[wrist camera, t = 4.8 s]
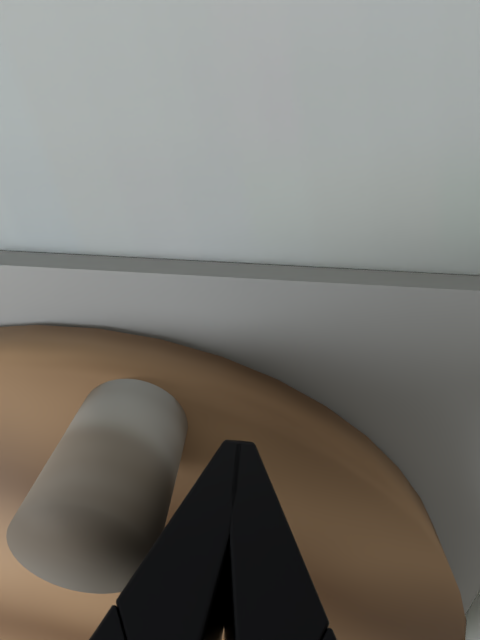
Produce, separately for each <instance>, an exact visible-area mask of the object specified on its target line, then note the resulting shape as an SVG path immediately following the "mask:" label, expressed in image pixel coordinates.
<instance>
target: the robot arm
mask: <svg viewBox="0 0 480 640" xmlns="http://www.w3.org/2000/svg"><path fill="white" fill-rule="evenodd" d="M328 627H329V620H328V618H327V615H326V613H325V610H324V608H323V606H322V603H321V601H320V598H319V596H318V594H317V591H316V589H315V586H314V584H313V582H312V579H311V577H310V574H309V572H308V570H307V567H306V565H305V562H304V560H303V558H302V555H301V553H300V550H299V548H298V546H297V543H296V541H295V538H294V536H293V533H292V531H291V529H290V526H289V524H288V521H287V519H286V517H285V514H284V512H283V509H282V507H281V505H280V502H279V500H278V497H277V495H276V493H275V490H274V488H273V485H272V483H271V481H270V478H269V476H268V473H267V471H266V469H265V466H264V464H263V461H262V459H261V456H260V454H259V452H258V449H257V447H256V445H255V443H254V442H251V441H240V440H228V439H227V440H224V441H223V442H222V444H221V445H220V447H219V448H218V450H217V451H216V453H215V454H214V456H213V457H212V458H211V460H210V461H209V463H208V464H207V466H206V467H205V469H204V470H203V472H202V473H201V475H200V476H199V478H198V479H197V481H196V482H195V484H194V485H193V487H192V488H191V490H190V491H189V493H188V494H187V496H186V497H185V498H184V500H183V501H182V503H181V504H180V506H179V507H178V509H177V510H176V512H175V513H174V515H173V516H172V518H171V519H170V521H169V522H168V524H167V525H166V527H165V528H164V530H163V531H162V533H161V534H160V536H159V537H158V539H157V540H156V541H155V543H154V544H153V546H152V547H151V549H150V550H149V552H148V553H147V555H146V556H145V558H144V559H143V561H142V562H141V564H140V565H139V567H138V568H137V570H136V571H135V573H134V574H133V576H132V577H131V579H130V580H129V581H128V583H127V584H126V586H125V587H124V589H123V590H122V592H121V593H120V595H119V596H118V598H117V599H116V605H112V606H111V608H110V609H109V611H108V612H107V614H106V615H105V617H104V618H103V620H102V621H101V623H100V624H99V625H98V627H97V628H96V630H95V631H94V633H93V634H92V636H91V637H90V638H89V640H222V635H223V630H224V640H337V639H336V636H335V634H334V631H333V629H332V628H328Z"/></svg>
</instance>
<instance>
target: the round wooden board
mask: <svg viewBox="0 0 480 640" xmlns="http://www.w3.org/2000/svg"><path fill="white" fill-rule="evenodd" d="M227 439H228V440H240V441H251V442H254V443H255V445H256V447H257V449H258V452H259V454H260V456H261V459H262V461H263V464H264V466H265V469H266V471H267V473H268V476H269V478H270V481H271V483H272V485H273V488H274V490H275V493H276V495H277V497H278V500H279V502H280V505H281V507H282V509H283V512H284V514H285V517H286V519H287V521H288V524H289V526H290V529H291V531H292V533H293V536H294V538H295V541H296V543H297V546H298V548H299V550H300V553H301V555H302V558H303V560H304V562H305V565H306V567H307V570H308V572H309V574H310V577H311V579H312V582H313V584H314V586H315V589H316V591H317V594H318V596H319V598H320V601H321V603H322V606H323V608H324V610H325V613H326V615H327V618H328V620H329V627H328V628H332V629H333V631H334V634H335V636H336V639H337V640H465V631H466V618H465V613H464V608H463V603H462V598H461V593H460V590H459V588H458V585H457V583H456V580H455V578H454V575H453V573H452V570H451V568H450V565H449V563H448V560H447V558H446V555H445V553H444V550H443V548H442V545H441V543H440V540H439V538H438V535H437V533H436V530H435V528H434V526H433V524H432V522H431V519H430V517H429V515H428V513H427V511H426V509H425V507H424V504H423V502H422V500H421V498H420V497H419V495H418V494H417V492H416V491H415V490H414V488H413V487H412V486H411V484H410V483H409V481H408V480H407V479H406V477H405V476H404V475H403V473H402V472H401V470H400V469H399V468H398V466H397V465H395V464H394V463H393V462H392V461H391V460H390V459H389V458H388V457H387V456H386V455H385V454H384V453H383V452H382V451H381V450H380V449H379V448H378V447H377V446H376V445H375V444H374V443H373V442H372V441H371V440H370V439H369V438H368V437H367V436H366V435H364V434H363V433H362V432H360V431H359V430H358V429H356V428H355V427H354V426H352V425H351V424H349V423H348V422H347V421H345V420H344V419H343V418H341V417H340V416H339V415H337V414H336V413H334V412H333V411H332V410H330V409H329V408H328V407H326V406H325V405H323V404H321V403H319V402H317V401H316V400H314V399H312V398H310V397H308V396H306V395H305V394H303V393H301V392H299V391H297V390H296V389H294V388H292V387H290V386H288V385H287V384H285V383H283V382H281V381H279V380H278V379H275V378H273V377H270V376H268V375H265V374H263V373H261V372H258V371H256V370H253V369H251V368H248V367H246V366H243V365H241V364H239V363H236V362H234V361H231V360H229V359H226V358H224V357H221V356H218V355H214V354H211V353H207V352H204V351H200V350H197V349H193V348H190V347H186V346H183V345H179V344H176V343H172V342H169V341H165V340H162V339H157V338H151V337H145V336H139V335H133V334H128V333H122V332H116V331H110V330H104V329H98V328H82V327H65V326H48V325H24V326H7V327H0V640H89V638H90V637H91V636H92V634H93V633H94V631H95V630H96V628H97V627H98V625H99V624H100V623H101V621H102V620H103V618H104V617H105V615H106V614H107V612H108V611H109V609H110V608H111V606H112V605H116V599H117V598H118V596H119V595H120V593H121V592H122V590H123V589H124V587H125V586H126V584H127V583H128V581H129V580H130V579H131V577H132V576H133V574H134V573H135V571H136V570H137V568H138V567H139V565H140V564H141V562H142V561H143V559H144V558H145V556H146V555H147V553H148V552H149V550H150V549H151V547H152V546H153V544H154V543H155V541H156V540H157V539H158V537H159V536H160V534H161V533H162V531H163V530H164V528H165V527H166V525H167V524H168V522H169V521H170V519H171V518H172V516H173V515H174V513H175V512H176V510H177V509H178V507H179V506H180V504H181V503H182V501H183V500H184V498H185V497H186V496H187V494H188V493H189V491H190V490H191V488H192V487H193V485H194V484H195V482H196V481H197V479H198V478H199V476H200V475H201V473H202V472H203V470H204V469H205V467H206V466H207V464H208V463H209V461H210V460H211V458H212V457H213V456H214V454H215V453H216V451H217V450H218V448H219V447H220V445H221V444H222V442H223V441H224V440H227ZM222 640H224V630H223V635H222Z"/></svg>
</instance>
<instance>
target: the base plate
mask: <svg viewBox="0 0 480 640" xmlns="http://www.w3.org/2000/svg"><path fill="white" fill-rule="evenodd" d="M24 325H48V326H65V327H82V328H98V329H104V330H110V331H116V332H122V333H128V334H133V335H139V336H145V337H151V338H157V339H162V340H165V341H169V342H172V343H176V344H179V345H183V346H186V347H190V348H193V349H197V350H200V351H204V352H207V353H211V354H214V355H218V356H221V357H224V358H226V359H229V360H231V361H234V362H236V363H239V364H241V365H243V366H246V367H248V368H251V369H253V370H256V371H258V372H261V373H263V374H265V375H268V376H270V377H273V378H275V379H278V380H279V381H281V382H283V383H285V384H287V385H288V386H290V387H292V388H294V389H296V390H297V391H299V392H301V393H303V394H305V395H306V396H308V397H310V398H312V399H314V400H316V401H317V402H319V403H321V404H323V405H325V406H326V407H328V408H329V409H330V410H332V411H333V412H334V413H336V414H337V415H339V416H340V417H341V418H343V419H344V420H345V421H347V422H348V423H349V424H351V425H352V426H354V427H355V428H356V429H358V430H359V431H360V432H362V433H363V434H364V435H366V436H367V437H368V438H369V439H370V440H371V441H372V442H373V443H374V444H375V445H376V446H377V447H378V448H379V449H380V450H381V451H382V452H383V453H384V454H385V455H386V456H387V457H388V458H389V459H390V460H391V461H392V462H393V463H394V464H395V465H397V466H398V468H399V469H400V470H401V472H402V473H403V475H404V476H405V477H406V479H407V480H408V481H409V483H410V484H411V486H412V487H413V488H414V490H415V491H416V492H417V494H418V495H419V497H420V498H421V500H422V502H423V504H424V507H425V509H426V511H427V513H428V515H429V517H430V519H431V522H432V524H433V526H434V528H435V530H436V533H437V535H438V538H439V540H440V543H441V545H442V548H443V550H444V553H445V555H446V558H447V560H448V563H449V565H450V568H451V570H452V573H453V575H454V578H455V580H456V583H457V585H458V588H459V590H460V593H461V598H462V603H463V608H464V613H465V615H466V613H467V611H468V610H469V608H470V606H471V605H472V603H473V601H474V600H475V598H476V596H477V594H478V593H479V591H480V276H473V275H454V274H435V273H416V272H397V271H378V270H359V269H340V268H321V267H302V266H283V265H264V264H245V263H226V262H207V261H188V260H169V259H150V258H131V257H112V256H93V255H74V254H55V253H36V252H17V251H0V327H7V326H24Z"/></svg>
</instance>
